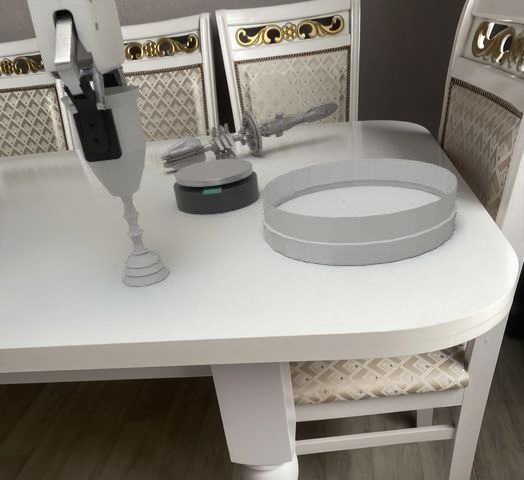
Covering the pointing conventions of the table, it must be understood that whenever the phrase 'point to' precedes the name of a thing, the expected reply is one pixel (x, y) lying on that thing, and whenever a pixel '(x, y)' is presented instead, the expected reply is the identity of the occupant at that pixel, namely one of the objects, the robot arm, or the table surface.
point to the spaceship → (240, 136)
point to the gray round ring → (360, 211)
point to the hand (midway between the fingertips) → (114, 148)
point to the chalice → (128, 180)
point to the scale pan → (213, 172)
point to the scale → (217, 196)
